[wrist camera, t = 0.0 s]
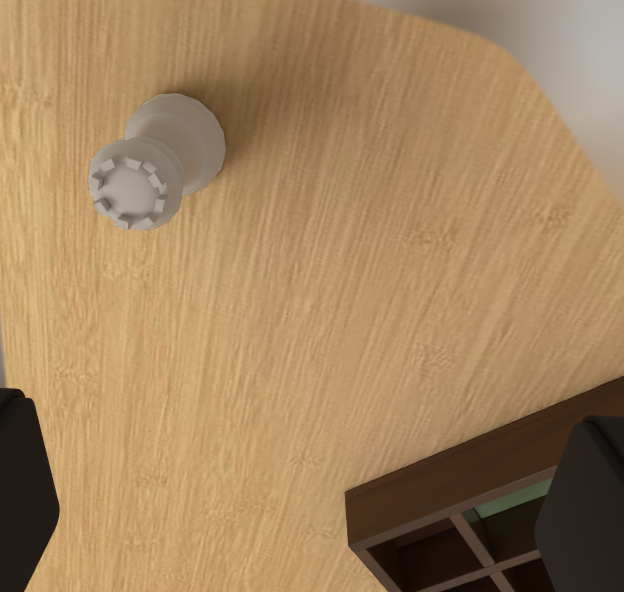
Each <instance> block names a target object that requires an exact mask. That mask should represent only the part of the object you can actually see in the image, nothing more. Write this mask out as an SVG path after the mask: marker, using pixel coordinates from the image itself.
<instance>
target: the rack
mask: <svg viewBox="0 0 624 592" xmlns="http://www.w3.org/2000/svg"><path fill="white" fill-rule="evenodd" d="M587 415H606V416H622V417H624V377H622V378H619V379H617V380H615V381H612V382H610V383H607V384H605V385H603V386H600V387H598V388H595V389H593V390H591V391H588V392H586V393H583V394H581V395H578V396H576V397H574V398H571V399H569V400H566V401H564V402H562V403H559V404H557V405H554V406H552V407H550V408H547V409H545V410H542V411H540V412H538V413H535V414H533V415H530V416H528V417H526V418H523V419H521V420H518V421H516V422H513V423H511V424H509V425H506V426H504V427H501V428H499V429H497V430H494V431H492V432H489V433H487V434H485V435H482V436H480V437H477V438H475V439H473V440H470V441H468V442H465V443H463V444H460V445H458V446H456V447H453V448H451V449H448V450H446V451H444V452H441V453H439V454H436V455H434V456H432V457H429V458H427V459H424V460H422V461H420V462H417V463H415V464H412V465H410V466H408V467H405V468H403V469H400V470H398V471H395V472H393V473H391V474H388V475H386V476H383V477H381V478H379V479H376V480H374V481H371V482H369V483H367V484H364V485H362V486H359V487H357V488H355V489H352V490H350V491H347V492H345V506H346V520H347V535H348V546H349V547H350V549H351V550H352V551H353V552H354V553H355V554H356V555H357V556H358V557H359V559H360V560H361V561H362V562H363V563H364V564H365V566H366V567H367V568H368V569H369V570H370V571H371V572H372V574H373V575H374V576H375V577H376V578H377V579H378V580H379V582H380V583H381V584H382V585H383V586H384V587H385V589H386V590H387V591H388V592H556V590H555V588H554V586H553V583H552V581H551V579H550V576H549V574H548V571H547V569H546V567H545V564H544V562H543V560H542V557H541V555H540V552H539V550H538V548H537V545H536V541H535V533H534V531H535V524H536V521H537V518H538V516H539V513H540V511H541V508H542V506H543V503H544V500H545V498H546V495H547V493H548V490H549V487H550V485H551V482H552V480H553V477H554V474H555V472H556V469H557V467H558V464H559V461H560V459H561V456H562V454H563V451H564V448H565V446H566V443H567V441H568V438H569V436H570V433H571V430H572V428H573V426H574V425H575V424H576V423H581V422H582V420H583V419H584V418H585V417H586V416H587Z"/></svg>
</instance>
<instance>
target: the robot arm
mask: <svg viewBox="0 0 624 592" xmlns="http://www.w3.org/2000/svg"><path fill="white" fill-rule="evenodd" d="M59 512H60V507H59V502H58V498H57V494H56V490H55V485H54V481H53V477H52V473H51V469H50V465H49V461H48V457H47V453H46V449H45V445H44V441H43V437H42V432H41V428H40V424H39V420H38V416H37V412H36V408H35V404H34V402H33V400H32V399H31V398H25V395H24V393H23V392H22V391H21V390H20V389H12V388H0V592H24V591H25V589H26V587H27V585H28V583H29V581H30V579H31V577H32V575H33V573H34V571H35V569H36V567H37V565H38V563H39V561H40V559H41V557H42V555H43V553H44V550H45V548H46V546H47V544H48V542H49V540H50V538H51V536H52V534H53V532H54V530H55V528H56V526H57V523H58V519H59ZM534 533H535V541H536V545H537V548H538V550H539V552H540V555H541V557H542V560H543V562H544V564H545V567H546V569H547V571H548V574H549V576H550V579H551V581H552V583H553V586H554V588H555V590H556V592H624V417H622V416H606V415H587V416H586V417H585V418H584V419H583V420H582V422H581V423H576V424H575V425H574V426H573V428H572V430H571V433H570V436H569V438H568V441H567V443H566V446H565V448H564V451H563V454H562V456H561V459H560V461H559V464H558V467H557V469H556V472H555V474H554V477H553V480H552V482H551V485H550V487H549V490H548V493H547V495H546V498H545V500H544V503H543V506H542V508H541V511H540V513H539V516H538V518H537V521H536V524H535V531H534Z"/></svg>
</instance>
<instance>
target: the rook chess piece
mask: <svg viewBox="0 0 624 592" xmlns="http://www.w3.org/2000/svg"><path fill="white" fill-rule="evenodd" d="M225 153H226V147H225V139H224V132H223V130H222V128H221V126H220V125H219V123H218V121H217V119H216V117H215V115H214V114H213V113H212V112H211V111H210V110H209V109H207V108H206V107H205V106H204V105H203V104H202V103H200V102H199V101H198V100H196V99H193V98H190V97H188V96H185V95H182V94H179V93H174V94H158V95H157V96H155V97H153V98H151V99H149V100H148V101H146V102H144V103H142V104H141V106H140V107H139V108H137V110H136V111H135V112H134V114H133V115H132V117H131V118H130V120H129V121H128V122H127V125H126V131H125V137H124V140H115V141H114V142H112V143H110V144H108V145H106V146H104V147H102V148H100V150H99V151H98V153H97V154H96V155H95V157H94V158H93V160H92V161H91V163H90V169H89V176H88V182H89V190H91V194H92V198H93V199H94V201H95V202H94V203H93V206H94V207H95V208H96V210H97V211H98V213H99V214H100V216H103V215H104V214H105V215H106V216H108V217H109V218H111V219H112V220H113V221H115V224H114V226H116V227H120V228H123V229H126V230H129V228H132V229H135V230H146V229H155V228H157V227H159V226H161V225H163V224H165V223H167V222H169V221H170V220H171V218H172V217H173V216H174V215H175V213H176V212H177V211H178V210H179V207H180V202H181V198H182V195H190V194H192V193H194V192H196V191H198V190H201V189H203V188H205V187H206V186H207V185H208V184H209V183H210V182H211V181H212V180H213V178H214V177H215V176H216V175H217V174H218V172H219V171H220V170H221V168H222V164H223V161H224V157H225Z"/></svg>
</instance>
